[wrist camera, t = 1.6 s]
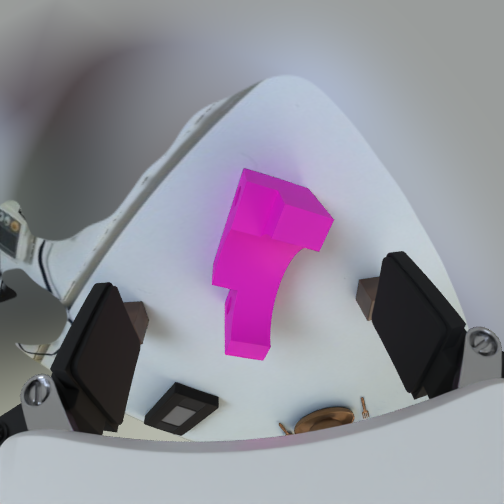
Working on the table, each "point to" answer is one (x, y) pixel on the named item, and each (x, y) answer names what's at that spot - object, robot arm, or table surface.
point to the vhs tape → (181, 409)
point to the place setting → (325, 419)
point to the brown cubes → (363, 298)
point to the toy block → (262, 254)
